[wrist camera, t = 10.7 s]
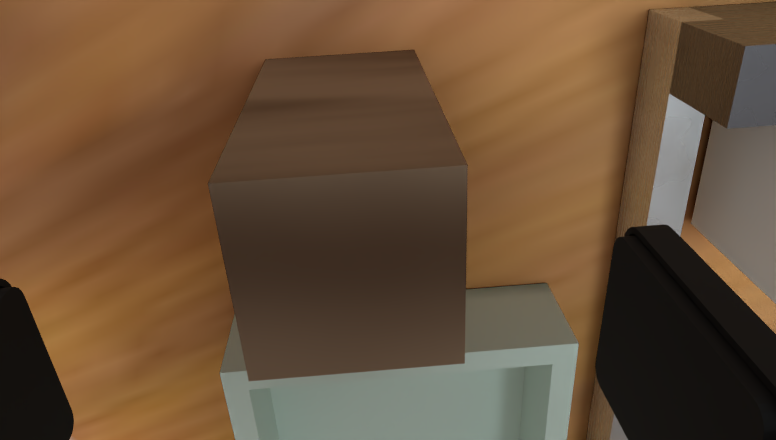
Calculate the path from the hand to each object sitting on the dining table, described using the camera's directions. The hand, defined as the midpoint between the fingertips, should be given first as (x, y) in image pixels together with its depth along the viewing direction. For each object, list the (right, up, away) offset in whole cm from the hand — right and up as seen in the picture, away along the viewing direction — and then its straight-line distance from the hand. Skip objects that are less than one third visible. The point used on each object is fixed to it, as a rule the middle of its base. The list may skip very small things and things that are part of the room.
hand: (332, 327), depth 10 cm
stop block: (0, +5, +10) cm, 11 cm away
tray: (+1, -6, +16) cm, 17 cm away
